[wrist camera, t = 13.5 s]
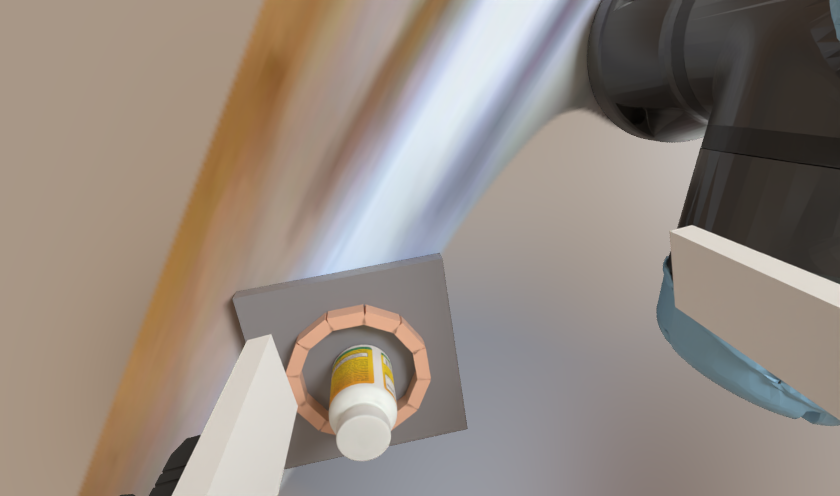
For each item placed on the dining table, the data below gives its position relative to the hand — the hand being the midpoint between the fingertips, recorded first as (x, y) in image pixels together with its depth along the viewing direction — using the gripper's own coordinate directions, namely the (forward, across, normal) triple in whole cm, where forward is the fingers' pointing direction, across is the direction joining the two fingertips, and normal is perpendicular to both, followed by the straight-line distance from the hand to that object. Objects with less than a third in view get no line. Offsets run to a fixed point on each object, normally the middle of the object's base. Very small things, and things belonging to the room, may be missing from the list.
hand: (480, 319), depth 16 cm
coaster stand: (+27, +9, +15) cm, 32 cm away
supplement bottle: (+26, +8, +15) cm, 31 cm away
